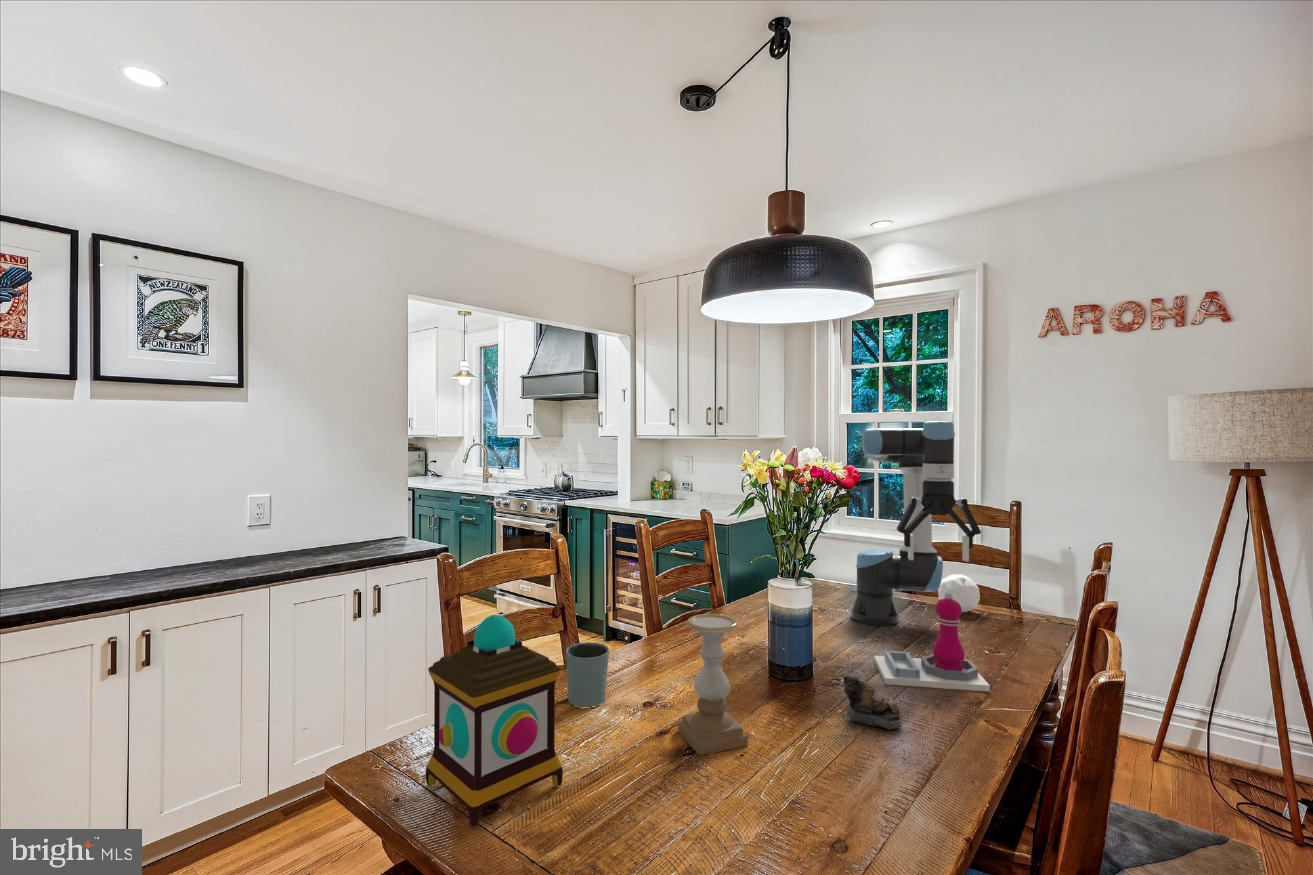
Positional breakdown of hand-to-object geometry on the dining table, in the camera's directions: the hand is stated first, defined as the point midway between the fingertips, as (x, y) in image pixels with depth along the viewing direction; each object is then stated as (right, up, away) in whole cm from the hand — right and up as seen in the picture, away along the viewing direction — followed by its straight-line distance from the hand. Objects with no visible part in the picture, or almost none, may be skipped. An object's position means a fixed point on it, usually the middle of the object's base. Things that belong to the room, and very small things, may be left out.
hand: (937, 560), depth 158 cm
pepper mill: (+1, -28, -4) cm, 28 cm away
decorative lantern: (-103, -29, -53) cm, 119 cm away
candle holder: (-63, -29, -36) cm, 78 cm away
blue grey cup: (-90, -29, -19) cm, 97 cm away
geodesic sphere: (+33, -30, +55) cm, 71 cm away
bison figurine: (-28, -29, -30) cm, 51 cm away
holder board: (-4, -29, -3) cm, 30 cm away
